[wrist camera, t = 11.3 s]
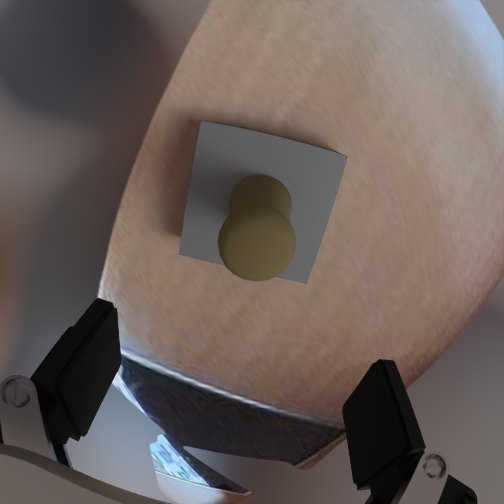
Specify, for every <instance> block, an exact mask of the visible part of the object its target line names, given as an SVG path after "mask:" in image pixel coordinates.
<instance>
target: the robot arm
mask: <svg viewBox="0 0 504 504" xmlns="http://www.w3.org/2000/svg"><path fill="white" fill-rule="evenodd" d="M120 365H121V351H120V341H119V329H118V313H117V308H114V306H113V303H112V302H109V301H106V300H103V299H100V298H97V299H96V300H95V301H94V302H93V303H92V304H91V305H90V307H89V308H88V309H87V311H86V312H85V313H84V314H83V315H82V316H81V318H80V319H79V320H78V321H77V323H76V324H75V325H74V326H71V327H69V328H68V329H67V330H66V331H65V333H64V334H63V335H62V336H61V338H60V339H59V340H58V341H57V343H56V344H55V345H54V347H53V348H52V349H51V351H50V352H49V353H48V355H47V356H46V357H45V359H44V360H43V361H42V363H41V364H40V365H39V367H38V368H37V369H36V371H35V372H34V374H33V375H32V377H31V378H30V379H29V378H27V377H26V376H22V375H12V376H9V377H7V378H5V379H4V380H3V381H2V382H1V384H0V504H170V503H166V502H162V501H158V500H155V499H152V498H148V497H145V496H142V495H139V494H136V493H132V492H129V491H126V490H124V489H121V488H118V487H116V486H113V485H110V484H107V483H105V482H102V481H100V480H97V479H95V478H92V477H90V476H88V475H85V474H83V473H81V472H79V471H76V470H74V469H73V467H72V464H71V461H70V458H69V455H68V452H67V449H66V446H65V444H66V443H67V441H68V439H69V437H70V438H72V439H75V440H77V441H79V439H80V437H81V436H85V435H86V434H87V432H88V430H89V428H90V426H91V424H92V422H93V420H94V417H95V415H96V413H97V411H98V409H99V407H100V405H101V403H102V401H103V399H104V397H105V395H106V393H107V391H108V389H109V387H110V385H111V383H112V381H113V379H114V377H115V375H116V373H117V372H118V370H119V368H120ZM342 413H343V419H344V424H345V430H346V437H347V442H348V449H349V456H350V462H351V469H352V476H353V482H354V483H355V484H357V490H366V489H370V490H371V495H370V496H369V498H368V500H367V501H366V503H365V504H477V496H476V494H475V493H474V491H473V490H472V489H471V488H469V487H468V486H466V485H464V484H463V483H461V482H460V481H458V480H456V479H455V478H453V477H452V476H450V475H449V463H448V461H447V459H446V457H445V456H444V455H443V454H441V453H440V452H438V451H433V450H431V451H427V452H426V453H425V452H424V449H425V448H426V447H425V444H424V440H423V437H422V435H421V431H420V428H419V425H418V422H417V419H416V417H415V414H414V411H413V408H412V405H411V403H410V400H409V397H408V395H407V392H406V389H405V387H404V384H403V381H402V379H401V376H400V374H399V371H398V369H397V366H396V364H395V362H394V361H393V360H384V359H379V360H378V361H377V362H376V363H373V364H372V365H371V367H370V368H369V370H368V371H367V373H366V374H365V376H364V377H363V379H362V380H361V381H360V383H359V384H358V386H357V387H356V389H355V390H354V391H353V393H352V394H351V395H350V397H349V398H348V399H347V401H346V402H345V404H344V405H343V409H342Z"/></svg>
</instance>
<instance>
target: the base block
mask: <svg viewBox="0 0 504 504" xmlns="http://www.w3.org/2000/svg"><path fill="white" fill-rule="evenodd" d="M347 157H348V156H346V155H343V154H341V153H339V152H335V151H332V150H329V149H326V148H322V147H319V146H315V145H312V144H308V143H305V142H301V141H297V140H293V139H290V138H286V137H282V136H278V135H274V134H269V133H265V132H261V131H256V130H252V129H247V128H242V127H237V126H232V125H227V124H222V123H216V122H211V121H201V124H200V129H199V134H198V139H197V144H196V149H195V154H194V159H193V165H192V171H191V176H190V182H189V188H188V194H187V200H186V207H185V214H184V220H183V227H182V235H181V242H180V250H179V255H183V256H187V257H192V258H196V259H200V260H204V261H209V262H213V263H217V264H222V265H224V263H223V261H222V259H221V258H220V254H219V249H218V243H217V242H218V235H219V230H220V228H221V227H222V225H223V223H224V221H225V219H226V218H227V217H228V216H229V202H230V196H231V193H232V192H233V190H234V188H235V186H236V185H237V184H238V183H240V182H241V181H242V180H243V179H245V178H247V177H250V176H252V175H261V174H262V175H267V176H272V177H274V178H275V179H277V180H279V181H281V182H282V183H283V185H284V186H285V187H286V188H287V189H288V191H289V194H290V196H291V201H292V210H291V215H290V220H289V221H290V223H291V225H292V227H293V230H294V232H295V236H296V249H295V253H294V256H293V259H292V261H291V263H290V264H289V265H288V267H287V268H286V270H284V271H283V272H282V273H281V274H279V275H278V276H276V277H279V278H283V279H288V280H293V281H297V282H302V283H307V281H308V278H309V275H310V272H311V270H312V267H313V264H314V261H315V258H316V255H317V252H318V249H319V246H320V244H321V241H322V238H323V235H324V232H325V229H326V225H327V222H328V219H329V216H330V213H331V210H332V207H333V204H334V200H335V197H336V194H337V191H338V187H339V184H340V181H341V177H342V174H343V170H344V167H345V164H346V160H347Z"/></svg>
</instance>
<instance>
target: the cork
mask: <svg viewBox="0 0 504 504" xmlns="http://www.w3.org/2000/svg"><path fill="white" fill-rule="evenodd" d="M291 210H292V201H291V196H290V194H289V191H288V189H287V188H286V187H285V186H284V185H283V183H282V182H281V181H279V180H277V179H275V178H274V177H272V176H267V175H262V174H261V175H252V176H250V177H247V178H245V179H243V180H242V181H241V182H240V183H238V184H237V185H236V186H235V188H234V190H233V192H232V193H231V196H230V202H229V216H228V217H227V218H226V219H225V221H224V223H223V225H222V227H221V228H220V230H219V235H218V242H217V243H218V249H219V254H220V258H221V259H222V261H223V263H224V265H225V266H226V267H227V268H228V269H229V270H230V271H231V272H232V273H233V274H235V275H237V276H239V277H240V278H242V279H246V280H251V281H264V280H269V279H271V278H274V277H276V276H278V275H279V274H281V273H282V272H283V271H284V270H286V268H287V267H288V265H289V264H290V263H291V261H292V259H293V256H294V253H295V249H296V236H295V232H294V230H293V227H292V225H291V223H290V221H289V220H290V215H291Z"/></svg>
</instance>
